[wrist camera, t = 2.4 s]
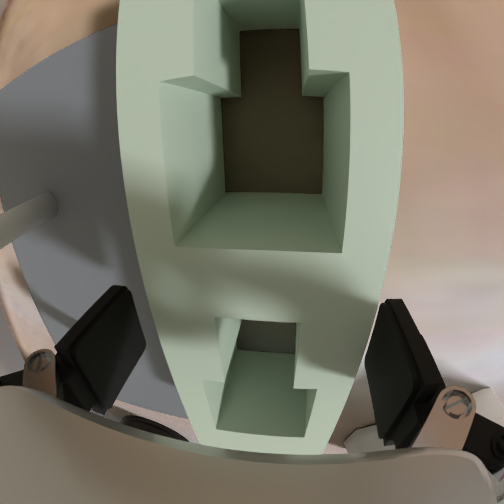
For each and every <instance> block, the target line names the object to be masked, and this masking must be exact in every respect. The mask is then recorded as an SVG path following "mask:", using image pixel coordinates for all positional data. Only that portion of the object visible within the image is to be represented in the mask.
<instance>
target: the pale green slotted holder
mask: <svg viewBox="0 0 504 504" xmlns="http://www.w3.org/2000/svg"><path fill="white" fill-rule="evenodd" d="M263 29H299V34H300V51H301V74H302V96H315V97H323V115H324V138H323V182H322V194H306V193H269V192H226V190H225V172H224V153H223V131H222V107H221V98H231V97H241V69H240V35H239V31H246V30H263ZM116 97H117V118H118V132H119V144H120V154H121V163H122V171H123V179H124V186H125V193H126V199H127V206H128V212H129V217H130V223H131V228H132V233H133V239H134V243H135V248H136V253H137V257H138V262H139V266H140V271H141V275H142V279H143V283H144V287H145V291H146V295H147V298H148V302H149V306H150V309H151V313H152V316H153V320H154V323H155V326H156V330H157V333H158V336H159V339H160V342H161V346H162V349H163V352H164V355H165V358H166V361H167V363H168V366H169V369H170V372H171V375H172V377H173V380H174V383H175V385H176V388H177V391H178V393H179V396H180V398H181V401H182V403H183V406H184V408H185V411H186V413H187V416H188V418H189V420H190V423H191V425H192V427H193V430H194V432H195V434H196V436H197V438H198V441H199V443H200V444H201V445H206V446H212V447H218V448H225V449H232V450H240V451H249V452H260V453H273V454H295V455H322V454H323V452H324V450H325V448H326V445H327V443H328V441H329V439H330V437H331V435H332V433H333V431H334V428H335V426H336V424H337V422H338V419H339V417H340V415H341V413H342V410H343V408H344V405H345V403H346V400H347V398H348V395H349V393H350V390H351V388H352V385H353V382H354V380H355V377H356V374H357V372H358V369H359V366H360V363H361V360H362V357H363V354H364V351H365V348H366V345H367V342H368V338H369V335H370V332H371V328H372V325H373V322H374V318H375V314H376V311H377V307H378V303H379V299H380V295H381V291H382V287H383V283H384V278H385V274H386V269H387V264H388V260H389V254H390V249H391V244H392V238H393V232H394V226H395V219H396V213H397V205H398V197H399V188H400V178H401V167H402V153H403V130H404V91H403V69H402V56H401V45H400V36H399V28H398V21H397V15H396V9H395V3H394V0H120V3H119V14H118V26H117V46H116ZM242 319H243V320H257V321H272V322H291V323H296V349H295V354H289V353H272V352H258V351H246V350H237V340H236V339H237V336H238V332H239V329H240V325H241V322H242Z"/></svg>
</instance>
